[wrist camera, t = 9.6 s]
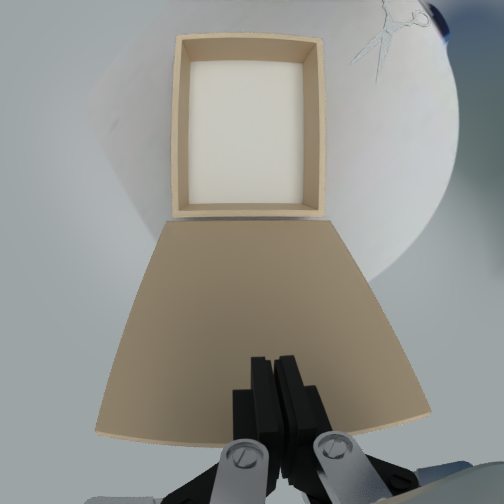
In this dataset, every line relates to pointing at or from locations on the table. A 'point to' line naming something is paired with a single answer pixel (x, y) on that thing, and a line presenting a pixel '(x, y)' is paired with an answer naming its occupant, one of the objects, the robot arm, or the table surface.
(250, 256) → the lid
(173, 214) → the box
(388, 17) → the scissors
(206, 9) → the table surface
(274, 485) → the robot arm
